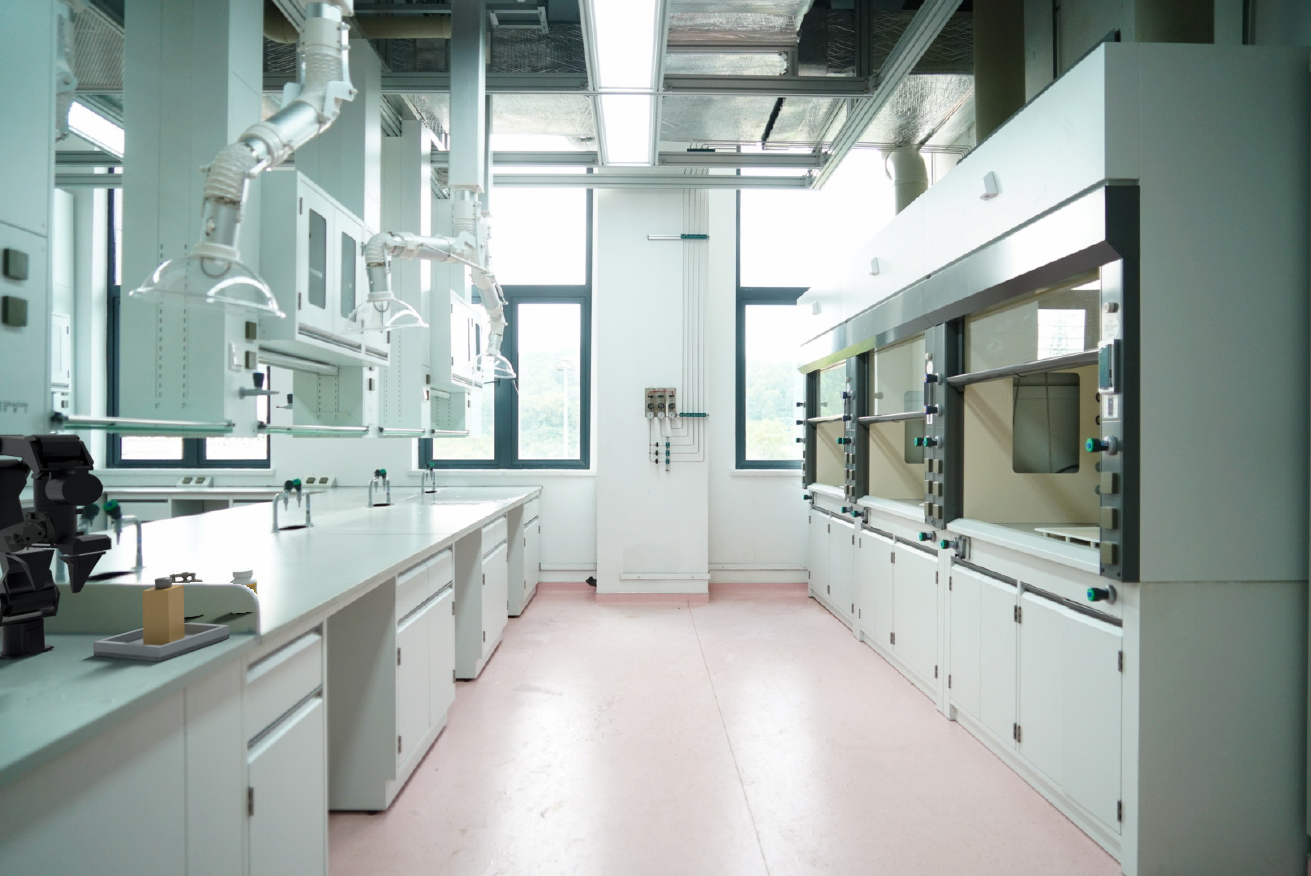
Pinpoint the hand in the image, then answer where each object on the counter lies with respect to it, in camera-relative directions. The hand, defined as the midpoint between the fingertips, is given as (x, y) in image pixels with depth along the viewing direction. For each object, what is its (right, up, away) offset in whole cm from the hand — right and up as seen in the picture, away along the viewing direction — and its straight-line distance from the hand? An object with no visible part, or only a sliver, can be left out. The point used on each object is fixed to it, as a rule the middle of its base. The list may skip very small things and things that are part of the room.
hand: (57, 591), depth 115 cm
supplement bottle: (+11, -13, +34) cm, 38 cm away
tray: (+12, -13, +9) cm, 20 cm away
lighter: (+1, -13, +30) cm, 33 cm away
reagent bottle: (+12, -12, +9) cm, 19 cm away
